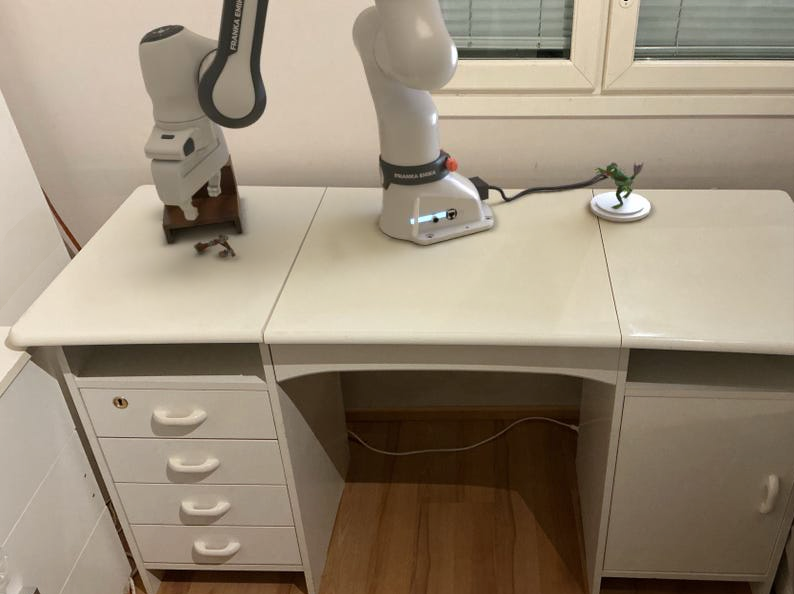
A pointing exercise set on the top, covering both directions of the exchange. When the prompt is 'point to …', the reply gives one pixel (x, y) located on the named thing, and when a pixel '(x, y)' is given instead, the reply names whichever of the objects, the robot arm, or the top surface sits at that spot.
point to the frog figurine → (620, 198)
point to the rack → (208, 206)
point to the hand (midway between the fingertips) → (204, 206)
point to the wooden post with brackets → (202, 246)
